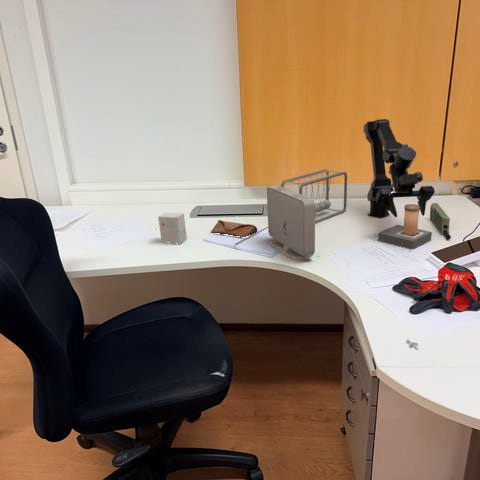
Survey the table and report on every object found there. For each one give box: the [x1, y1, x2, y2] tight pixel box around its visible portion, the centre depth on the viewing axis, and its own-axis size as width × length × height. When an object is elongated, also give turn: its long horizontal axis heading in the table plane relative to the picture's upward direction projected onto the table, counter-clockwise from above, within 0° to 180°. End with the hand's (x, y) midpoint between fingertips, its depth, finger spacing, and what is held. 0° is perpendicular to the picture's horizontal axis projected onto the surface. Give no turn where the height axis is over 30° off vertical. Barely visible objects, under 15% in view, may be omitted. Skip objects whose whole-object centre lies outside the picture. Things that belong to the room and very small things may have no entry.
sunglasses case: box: [210, 219, 258, 237], centre depth 172 cm, size 18×7×7 cm
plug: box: [403, 203, 420, 237], centre depth 149 cm, size 5×5×13 cm
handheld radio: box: [429, 202, 452, 240], centre depth 162 cm, size 7×3×25 cm
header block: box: [377, 224, 433, 250], centre depth 153 cm, size 13×12×4 cm
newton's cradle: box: [280, 169, 348, 224], centre depth 182 cm, size 30×10×18 cm, turn 132°
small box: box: [157, 212, 188, 245], centre depth 165 cm, size 8×6×10 cm
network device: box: [266, 185, 316, 260], centre depth 149 cm, size 26×9×20 cm, turn 23°
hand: (409, 216), depth 150 cm, fingers open, 9 cm apart
